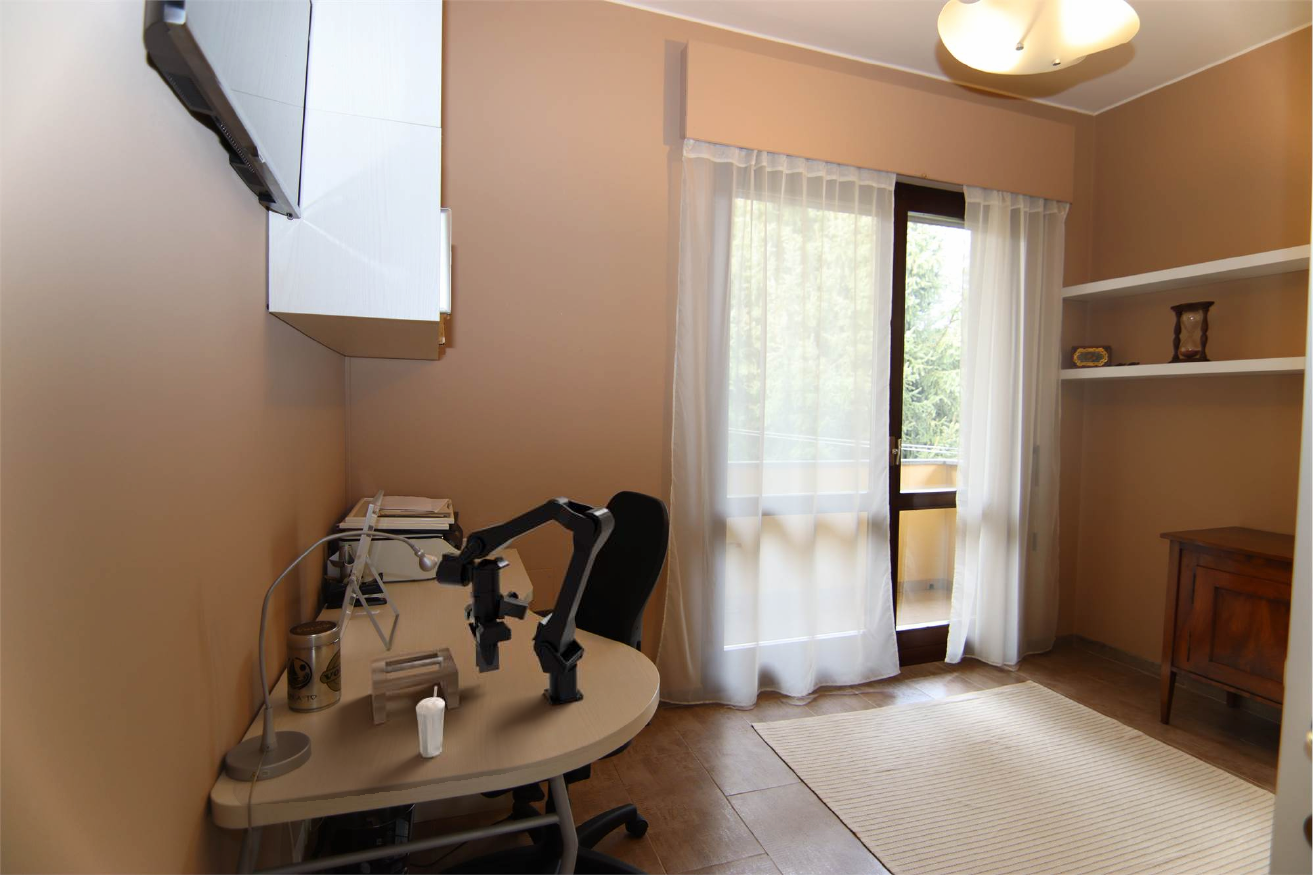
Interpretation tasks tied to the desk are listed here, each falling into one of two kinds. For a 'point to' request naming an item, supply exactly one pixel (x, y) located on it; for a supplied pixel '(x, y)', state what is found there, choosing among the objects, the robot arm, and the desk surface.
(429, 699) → the milkshake
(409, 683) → the shelf
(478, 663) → the grey slotted box
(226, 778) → the desk surface
